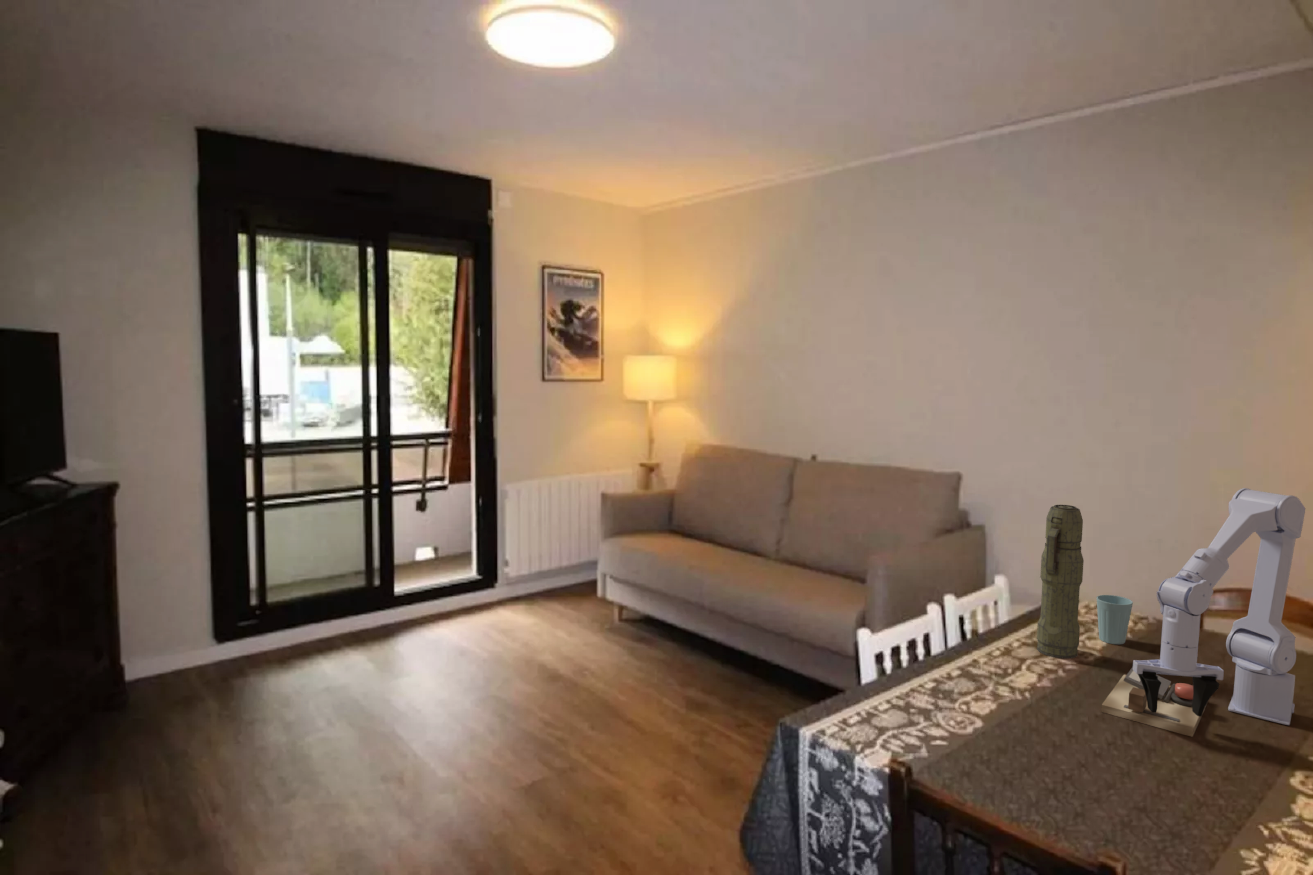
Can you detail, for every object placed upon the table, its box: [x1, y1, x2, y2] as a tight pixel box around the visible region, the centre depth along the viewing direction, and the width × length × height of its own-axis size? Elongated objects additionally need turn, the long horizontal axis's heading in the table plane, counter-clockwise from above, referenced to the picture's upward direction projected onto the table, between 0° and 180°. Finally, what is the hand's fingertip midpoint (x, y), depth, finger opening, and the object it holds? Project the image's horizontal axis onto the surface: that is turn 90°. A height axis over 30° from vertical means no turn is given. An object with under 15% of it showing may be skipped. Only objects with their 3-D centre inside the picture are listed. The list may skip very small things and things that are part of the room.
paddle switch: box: [1124, 666, 1172, 699], centre depth 159 cm, size 7×9×1 cm
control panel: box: [1100, 674, 1209, 738], centre depth 155 cm, size 15×20×2 cm
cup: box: [1096, 594, 1134, 645], centre depth 190 cm, size 8×8×10 cm
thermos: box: [1036, 504, 1084, 660], centre depth 182 cm, size 9×12×35 cm
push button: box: [1174, 682, 1193, 700], centre depth 154 cm, size 4×4×2 cm
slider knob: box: [1128, 687, 1147, 713], centre depth 150 cm, size 2×4×3 cm, turn 138°
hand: (1174, 712), depth 146 cm, fingers open, 7 cm apart
